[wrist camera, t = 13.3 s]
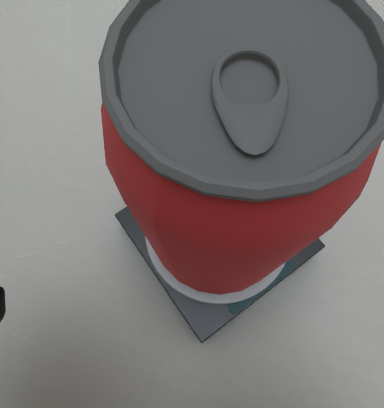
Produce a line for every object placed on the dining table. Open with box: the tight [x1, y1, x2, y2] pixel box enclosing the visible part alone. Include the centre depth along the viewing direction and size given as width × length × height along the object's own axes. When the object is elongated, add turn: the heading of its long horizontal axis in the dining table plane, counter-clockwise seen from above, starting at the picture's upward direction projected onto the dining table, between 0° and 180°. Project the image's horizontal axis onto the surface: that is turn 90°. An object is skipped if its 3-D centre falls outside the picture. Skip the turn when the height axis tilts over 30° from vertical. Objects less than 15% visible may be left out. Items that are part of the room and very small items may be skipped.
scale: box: [115, 207, 325, 343], centre depth 19 cm, size 8×8×2 cm
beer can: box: [99, 0, 384, 295], centre depth 12 cm, size 7×7×12 cm
